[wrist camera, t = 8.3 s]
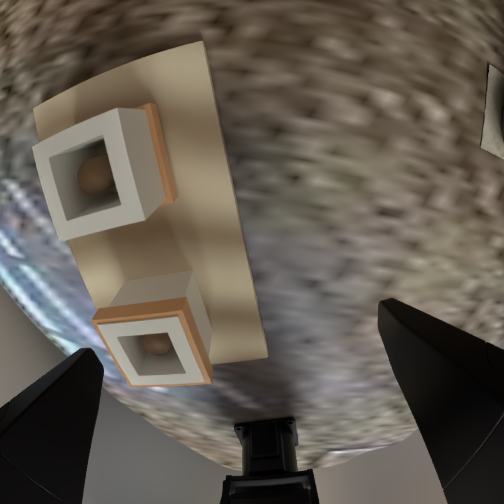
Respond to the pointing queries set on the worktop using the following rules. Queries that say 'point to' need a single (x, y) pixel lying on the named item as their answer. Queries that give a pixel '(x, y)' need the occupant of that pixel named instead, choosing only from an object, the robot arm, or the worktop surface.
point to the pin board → (173, 214)
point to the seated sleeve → (158, 331)
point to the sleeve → (122, 164)
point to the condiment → (494, 114)
